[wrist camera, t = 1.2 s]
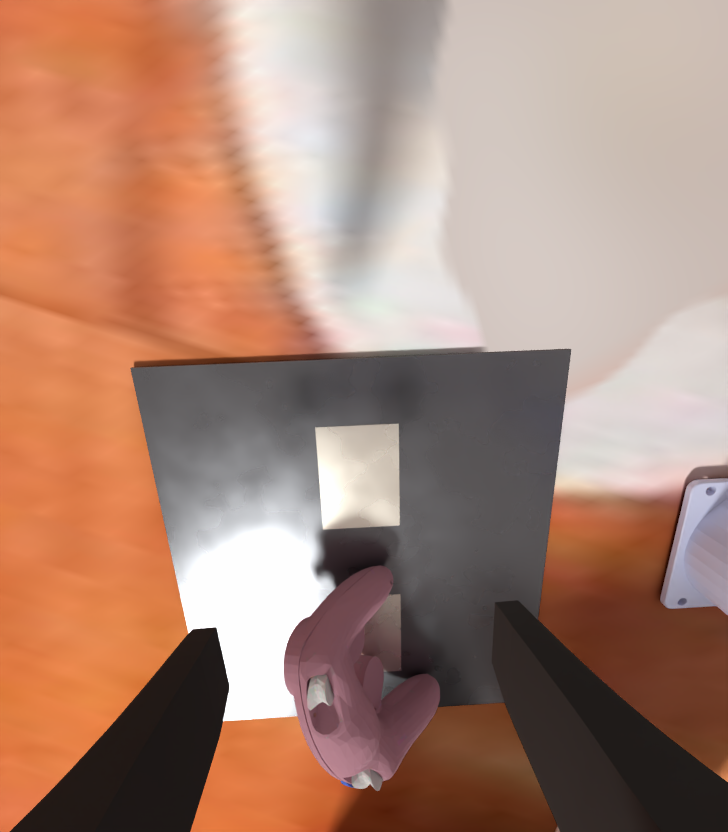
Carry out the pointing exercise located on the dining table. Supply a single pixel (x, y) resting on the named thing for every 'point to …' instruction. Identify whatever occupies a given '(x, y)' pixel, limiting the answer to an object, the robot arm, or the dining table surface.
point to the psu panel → (357, 504)
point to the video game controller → (353, 687)
